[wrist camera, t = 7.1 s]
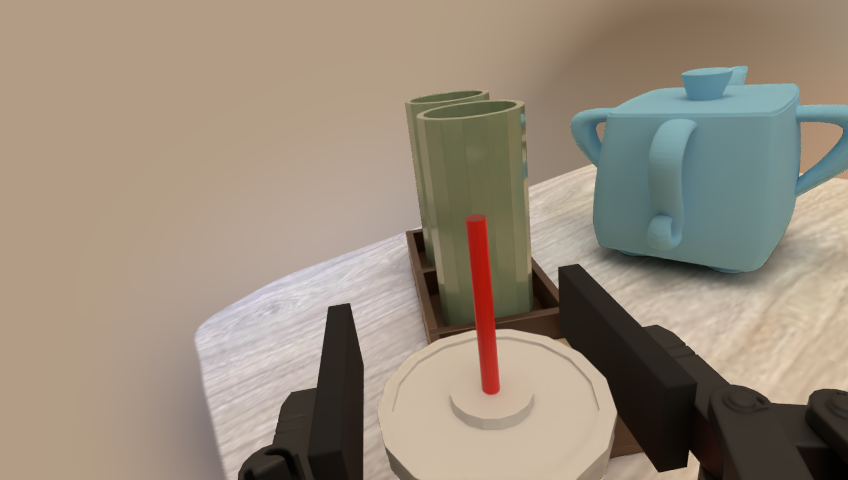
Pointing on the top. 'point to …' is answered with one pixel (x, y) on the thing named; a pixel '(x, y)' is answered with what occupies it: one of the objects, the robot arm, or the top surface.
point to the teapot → (704, 168)
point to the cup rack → (501, 319)
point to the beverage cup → (496, 401)
